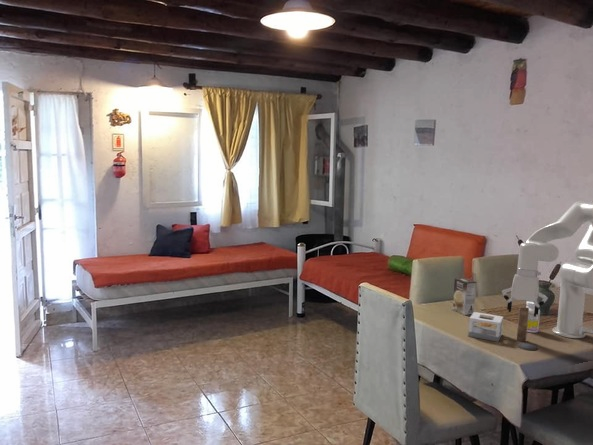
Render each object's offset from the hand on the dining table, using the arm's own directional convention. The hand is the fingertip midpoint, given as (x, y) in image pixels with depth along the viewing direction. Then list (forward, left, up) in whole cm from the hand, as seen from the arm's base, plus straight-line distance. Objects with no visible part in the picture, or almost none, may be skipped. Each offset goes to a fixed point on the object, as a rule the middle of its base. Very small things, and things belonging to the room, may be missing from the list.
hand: (522, 313), depth 214 cm
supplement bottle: (-2, -17, -12) cm, 21 cm away
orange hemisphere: (+14, +1, -7) cm, 15 cm away
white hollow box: (+14, +1, -12) cm, 18 cm away
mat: (-3, +6, -12) cm, 14 cm away
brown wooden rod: (0, -1, -12) cm, 12 cm away
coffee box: (+29, -29, -12) cm, 42 cm away
